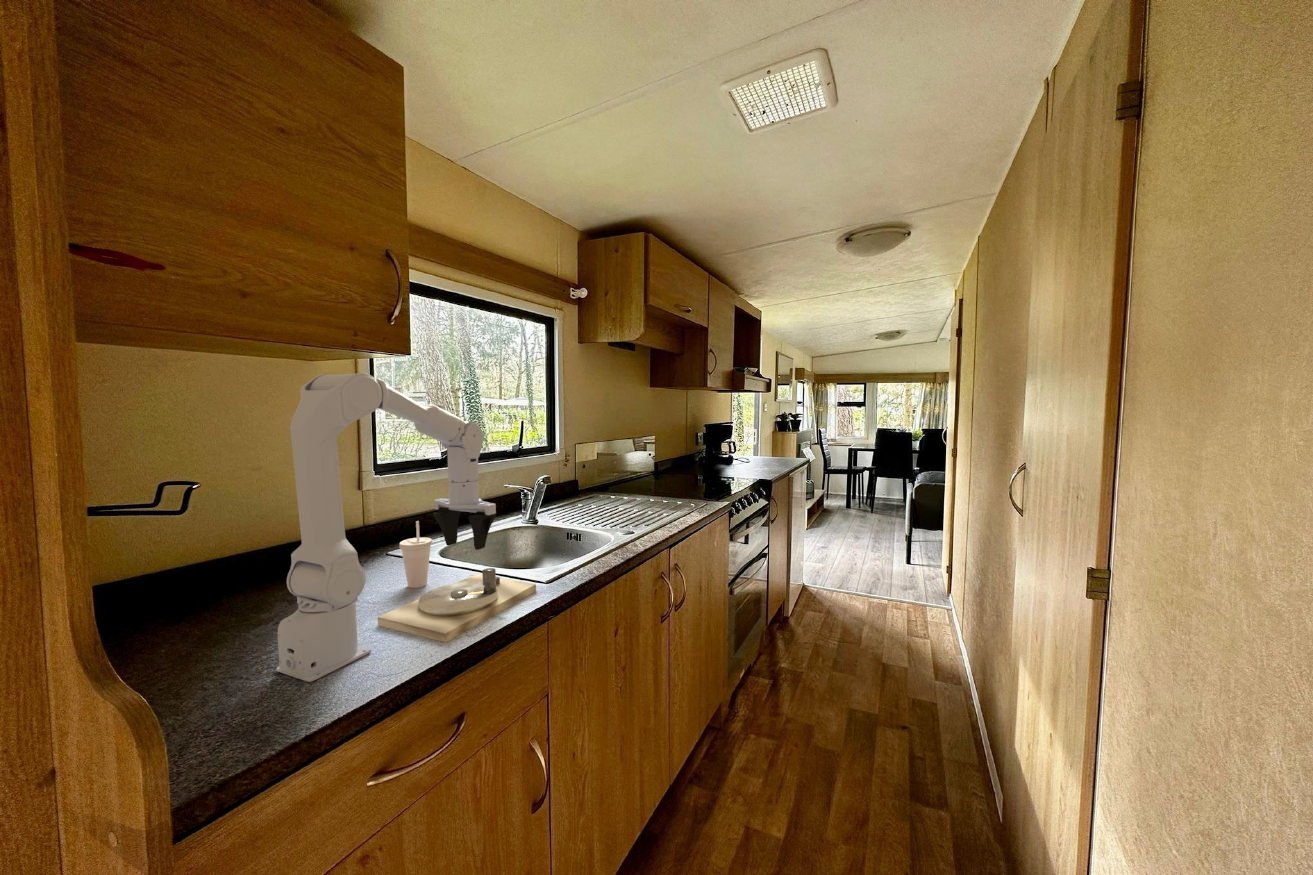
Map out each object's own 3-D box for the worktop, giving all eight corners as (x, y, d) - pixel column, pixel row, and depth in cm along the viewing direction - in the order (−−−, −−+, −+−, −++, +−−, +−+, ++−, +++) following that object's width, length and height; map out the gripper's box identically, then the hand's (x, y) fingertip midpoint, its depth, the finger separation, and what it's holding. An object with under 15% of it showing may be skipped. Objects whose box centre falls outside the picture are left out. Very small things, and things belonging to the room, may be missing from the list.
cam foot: (412, 620, 85) (411, 590, 85) (425, 590, 99) (424, 565, 98) (497, 610, 89) (496, 581, 89) (498, 583, 103) (497, 558, 102)
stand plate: (445, 642, 81) (445, 626, 81) (377, 625, 87) (377, 610, 87) (535, 591, 103) (535, 578, 103) (476, 580, 109) (476, 568, 109)
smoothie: (420, 591, 103) (418, 525, 102) (393, 589, 104) (391, 524, 103) (440, 580, 109) (437, 518, 108) (414, 578, 110) (412, 517, 109)
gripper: (505, 479, 100) (507, 545, 101) (452, 475, 106) (453, 537, 107) (480, 484, 94) (482, 554, 95) (424, 480, 100) (427, 546, 100)
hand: (465, 546), depth 100 cm, fingers open, 7 cm apart
